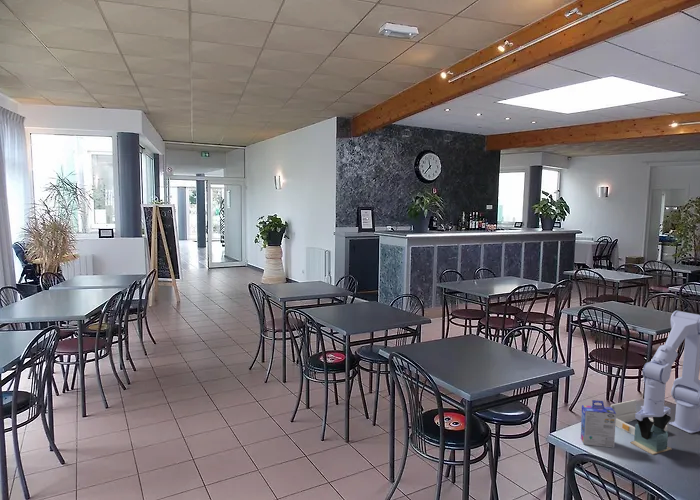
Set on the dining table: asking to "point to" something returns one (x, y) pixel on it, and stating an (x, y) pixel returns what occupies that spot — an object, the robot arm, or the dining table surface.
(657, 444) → the block
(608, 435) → the ink cartridge box
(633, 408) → the case lid
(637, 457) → the dining table surface
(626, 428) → the case
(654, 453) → the oak pad
